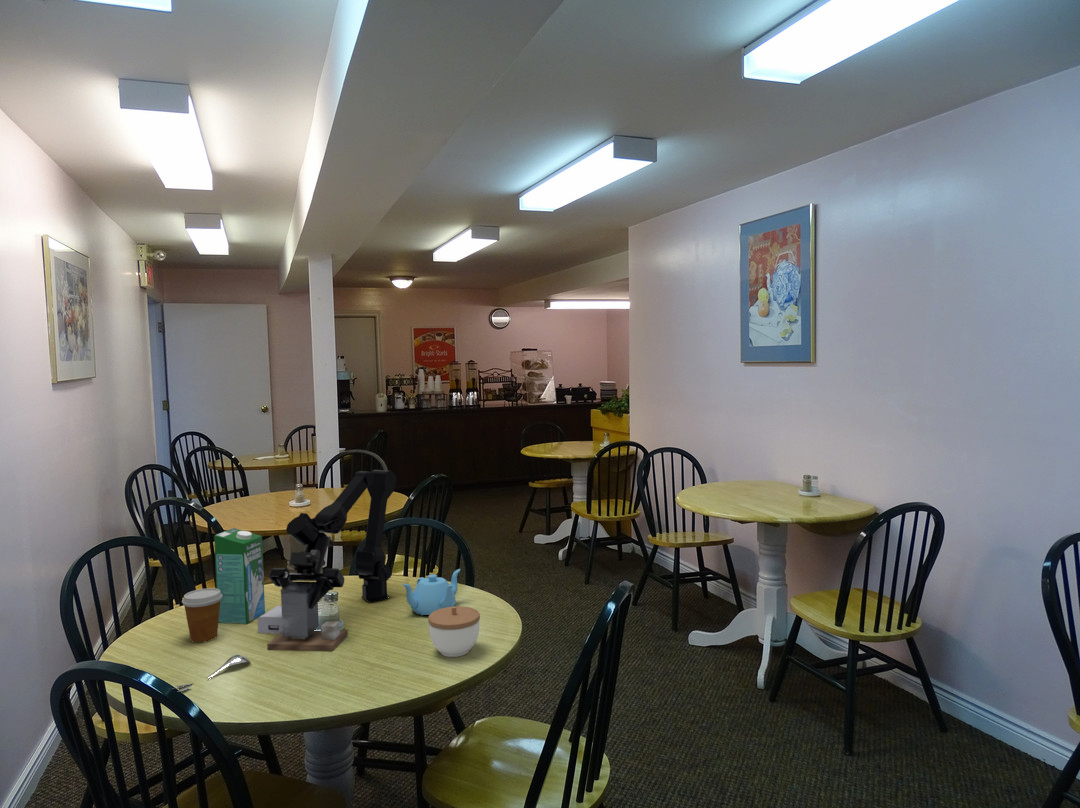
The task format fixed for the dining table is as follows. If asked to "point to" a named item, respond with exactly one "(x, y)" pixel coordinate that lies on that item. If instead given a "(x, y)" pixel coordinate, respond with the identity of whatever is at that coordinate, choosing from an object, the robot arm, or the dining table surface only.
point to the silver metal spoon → (221, 668)
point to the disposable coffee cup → (202, 613)
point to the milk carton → (239, 575)
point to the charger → (271, 621)
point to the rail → (311, 639)
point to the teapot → (432, 594)
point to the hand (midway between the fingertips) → (297, 608)
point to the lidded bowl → (454, 630)
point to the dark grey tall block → (298, 609)
